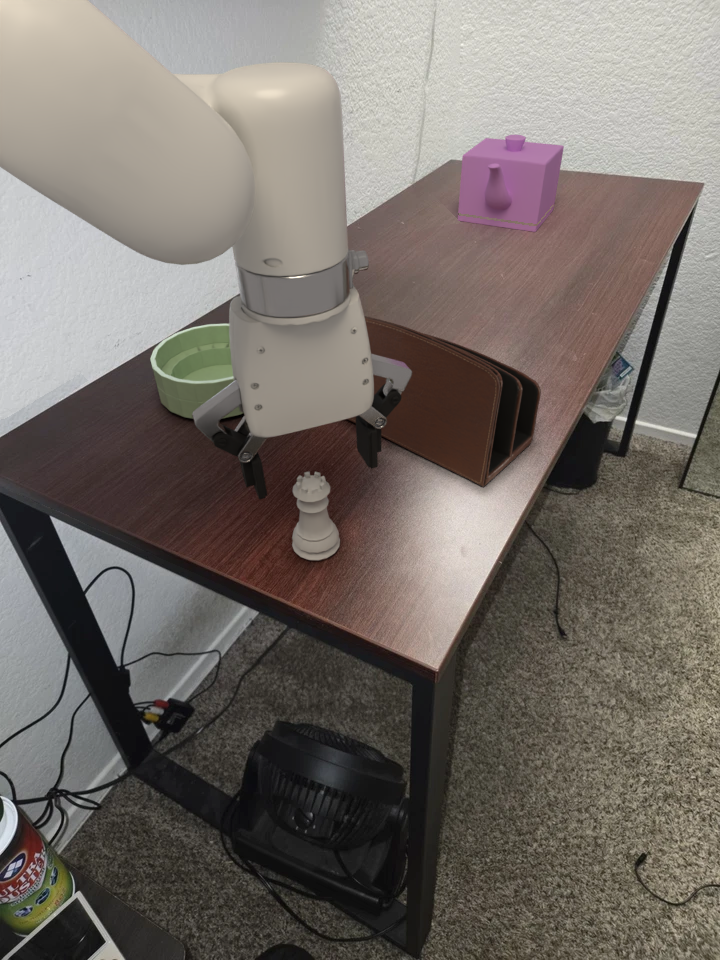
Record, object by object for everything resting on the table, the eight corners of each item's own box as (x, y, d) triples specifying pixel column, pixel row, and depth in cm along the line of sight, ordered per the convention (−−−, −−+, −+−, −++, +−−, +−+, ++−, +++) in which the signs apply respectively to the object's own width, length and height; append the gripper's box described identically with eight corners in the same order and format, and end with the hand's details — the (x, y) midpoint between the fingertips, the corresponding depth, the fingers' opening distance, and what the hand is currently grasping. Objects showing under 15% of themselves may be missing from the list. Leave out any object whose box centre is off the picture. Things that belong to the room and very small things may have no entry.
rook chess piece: (319, 571, 59) (313, 505, 54) (282, 549, 61) (273, 484, 56) (350, 542, 61) (347, 476, 56) (313, 522, 63) (307, 457, 58)
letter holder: (484, 489, 67) (500, 368, 58) (339, 418, 77) (333, 305, 68) (533, 443, 72) (555, 326, 63) (392, 382, 82) (394, 274, 73)
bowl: (170, 435, 75) (159, 394, 71) (153, 374, 85) (143, 336, 81) (289, 408, 79) (285, 368, 75) (260, 353, 89) (255, 315, 85)
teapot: (444, 233, 121) (449, 150, 112) (487, 193, 138) (494, 118, 129) (524, 245, 116) (536, 160, 107) (559, 202, 133) (572, 125, 124)
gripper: (390, 240, 49) (391, 425, 60) (157, 282, 45) (204, 473, 56) (434, 278, 44) (426, 473, 55) (174, 330, 40) (222, 530, 51)
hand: (314, 473), depth 56 cm, fingers open, 9 cm apart
